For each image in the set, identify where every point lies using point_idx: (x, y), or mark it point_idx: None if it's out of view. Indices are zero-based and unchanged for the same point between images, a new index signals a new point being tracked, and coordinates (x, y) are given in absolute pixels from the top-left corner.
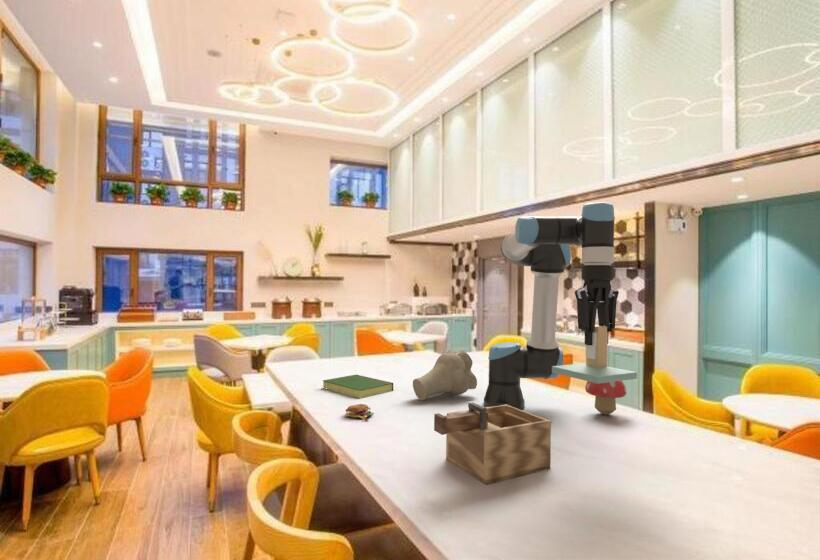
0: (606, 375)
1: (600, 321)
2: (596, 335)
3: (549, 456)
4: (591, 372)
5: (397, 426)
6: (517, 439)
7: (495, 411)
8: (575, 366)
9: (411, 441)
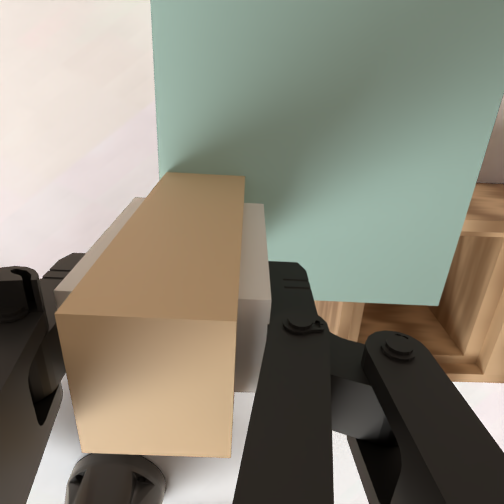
0: None
1: (27, 457)
2: (239, 283)
3: None
4: (433, 79)
5: None
6: (471, 208)
7: None
8: (334, 252)
9: None
